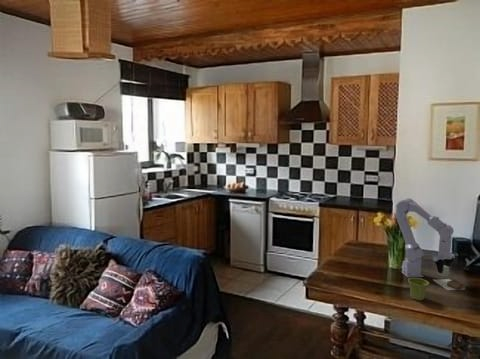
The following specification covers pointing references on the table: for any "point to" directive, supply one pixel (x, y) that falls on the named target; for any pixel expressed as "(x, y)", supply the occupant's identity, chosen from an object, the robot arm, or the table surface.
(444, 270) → the sage block
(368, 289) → the table surface
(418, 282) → the plant pot
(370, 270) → the table surface
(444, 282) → the board
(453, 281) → the walnut block
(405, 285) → the table surface
